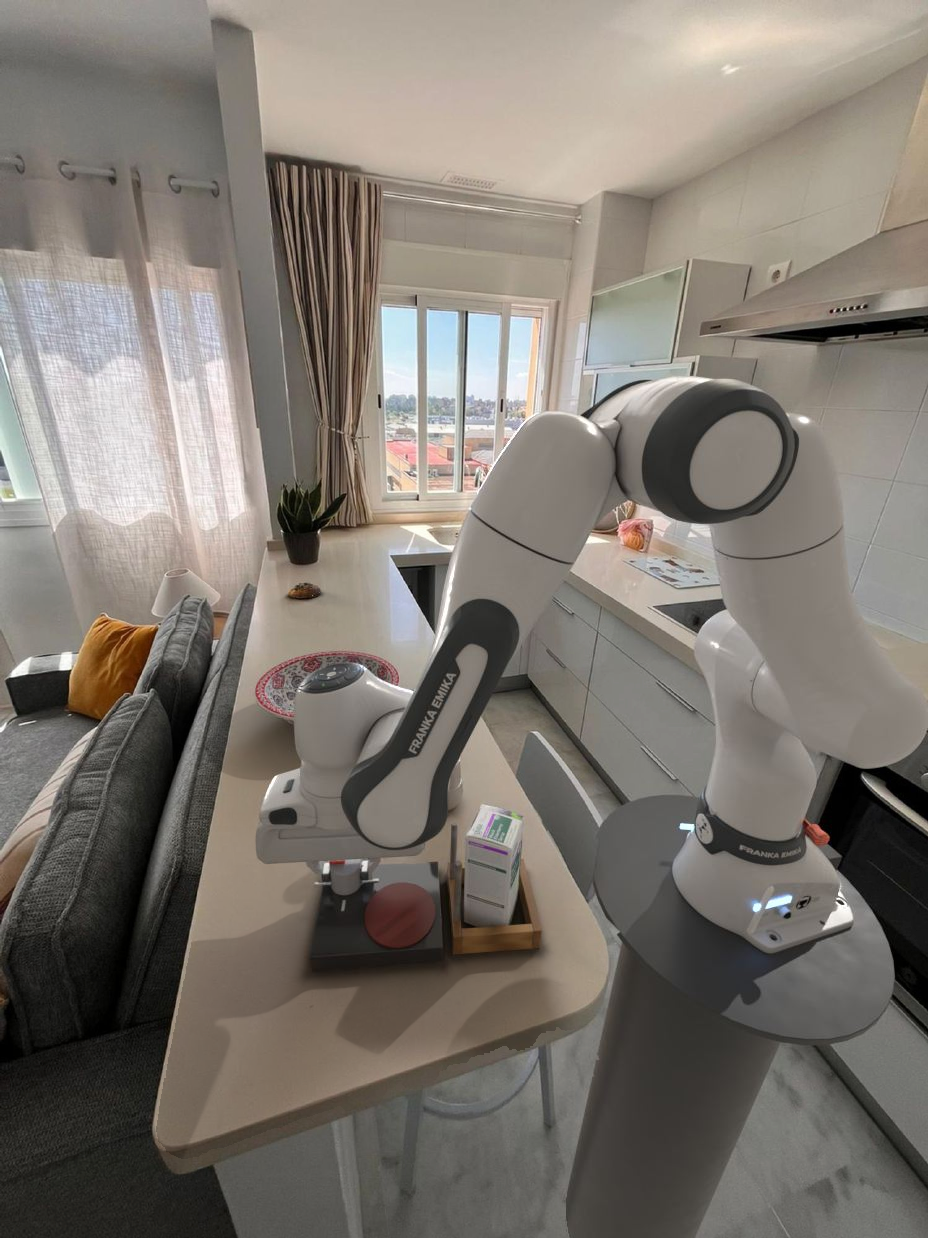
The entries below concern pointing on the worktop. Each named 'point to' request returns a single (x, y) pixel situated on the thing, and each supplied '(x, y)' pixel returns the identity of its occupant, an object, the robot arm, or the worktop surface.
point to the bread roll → (304, 591)
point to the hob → (344, 926)
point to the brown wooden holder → (497, 935)
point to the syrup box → (492, 867)
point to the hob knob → (345, 876)
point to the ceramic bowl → (286, 677)
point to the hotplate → (399, 915)
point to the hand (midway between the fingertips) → (346, 877)
